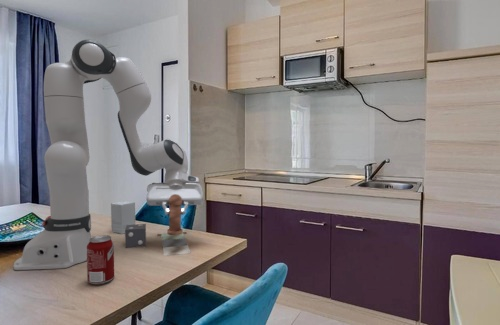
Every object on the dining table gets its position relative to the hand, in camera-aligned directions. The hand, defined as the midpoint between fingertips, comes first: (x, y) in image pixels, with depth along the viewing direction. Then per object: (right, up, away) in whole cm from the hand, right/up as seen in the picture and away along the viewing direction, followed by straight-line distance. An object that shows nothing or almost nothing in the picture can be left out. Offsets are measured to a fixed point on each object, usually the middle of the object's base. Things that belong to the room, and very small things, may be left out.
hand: (175, 213), depth 108 cm
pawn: (0, -7, +1) cm, 7 cm away
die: (-17, -13, +8) cm, 23 cm away
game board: (-3, -13, +10) cm, 17 cm away
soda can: (-15, -15, -23) cm, 31 cm away
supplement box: (-29, -12, +27) cm, 42 cm away
